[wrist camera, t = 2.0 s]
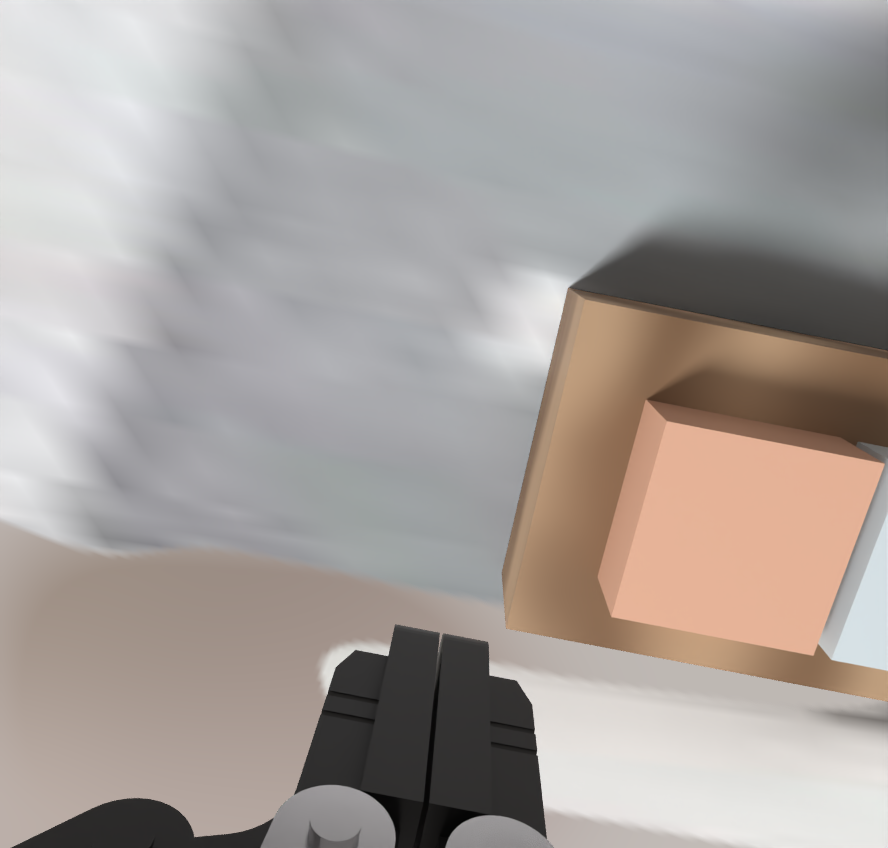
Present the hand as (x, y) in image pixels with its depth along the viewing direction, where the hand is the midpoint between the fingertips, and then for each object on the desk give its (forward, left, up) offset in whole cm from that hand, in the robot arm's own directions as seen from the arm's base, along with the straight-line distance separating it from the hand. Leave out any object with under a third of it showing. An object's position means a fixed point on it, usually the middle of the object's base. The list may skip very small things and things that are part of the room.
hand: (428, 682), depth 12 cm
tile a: (+7, +5, -12) cm, 14 cm away
